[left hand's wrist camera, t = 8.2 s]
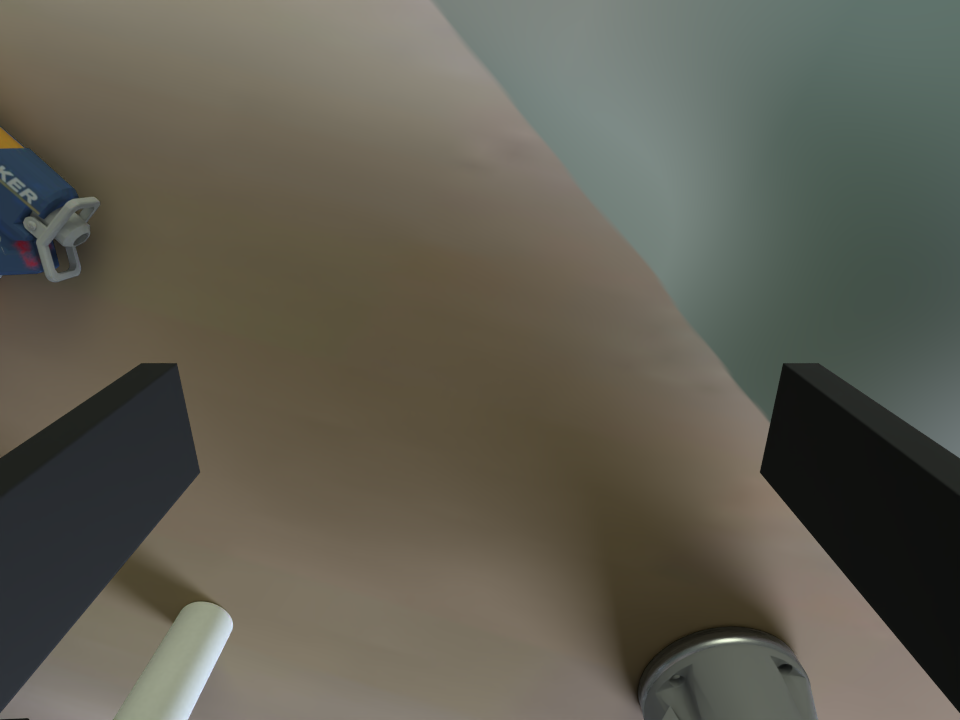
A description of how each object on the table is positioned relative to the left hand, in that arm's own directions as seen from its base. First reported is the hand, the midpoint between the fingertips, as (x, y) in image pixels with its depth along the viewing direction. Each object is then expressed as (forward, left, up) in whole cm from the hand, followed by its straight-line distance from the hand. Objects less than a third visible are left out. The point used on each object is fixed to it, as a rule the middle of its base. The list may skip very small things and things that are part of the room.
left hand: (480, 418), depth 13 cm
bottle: (-31, +29, -27) cm, 51 cm away
